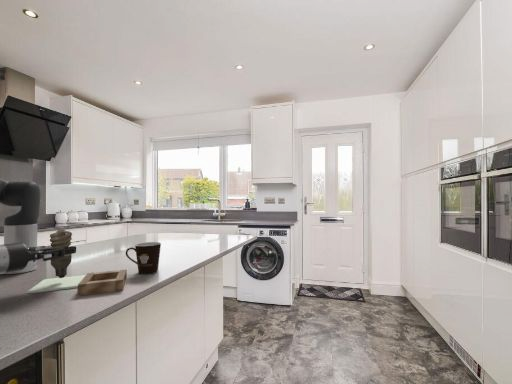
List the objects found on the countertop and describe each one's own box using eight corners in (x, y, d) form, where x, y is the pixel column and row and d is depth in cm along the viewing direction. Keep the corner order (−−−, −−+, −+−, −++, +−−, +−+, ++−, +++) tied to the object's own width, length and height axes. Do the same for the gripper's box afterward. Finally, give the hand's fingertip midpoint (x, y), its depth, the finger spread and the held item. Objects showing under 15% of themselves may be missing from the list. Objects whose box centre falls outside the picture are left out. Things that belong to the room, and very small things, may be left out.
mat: (27, 293, 72) (27, 291, 72) (44, 281, 83) (44, 279, 84) (78, 287, 77) (78, 285, 77) (87, 276, 88) (87, 274, 88)
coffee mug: (166, 270, 95) (166, 242, 96) (147, 276, 88) (147, 246, 88) (143, 267, 100) (143, 241, 101) (123, 272, 92) (123, 244, 93)
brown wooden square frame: (77, 296, 70) (77, 284, 70) (87, 283, 81) (87, 273, 81) (122, 290, 74) (123, 279, 74) (126, 278, 85) (126, 269, 85)
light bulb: (58, 281, 77) (60, 230, 77) (43, 280, 78) (45, 230, 78) (75, 275, 82) (76, 228, 83) (61, 275, 83) (62, 228, 84)
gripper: (14, 246, 65) (84, 238, 80) (-13, 243, 71) (57, 235, 86) (13, 277, 64) (83, 262, 80) (-14, 271, 70) (56, 258, 86)
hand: (69, 248), depth 83 cm, fingers closed on light bulb, 5 cm apart
